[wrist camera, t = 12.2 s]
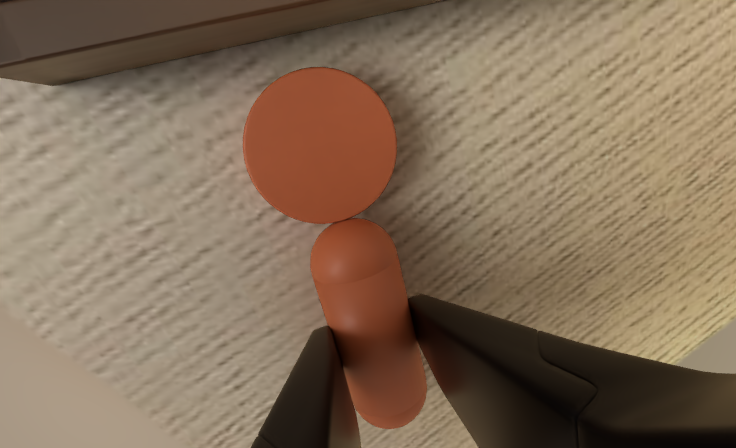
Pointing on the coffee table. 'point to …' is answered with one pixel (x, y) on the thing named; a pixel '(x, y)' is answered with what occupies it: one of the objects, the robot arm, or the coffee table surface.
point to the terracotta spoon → (343, 226)
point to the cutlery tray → (152, 31)
